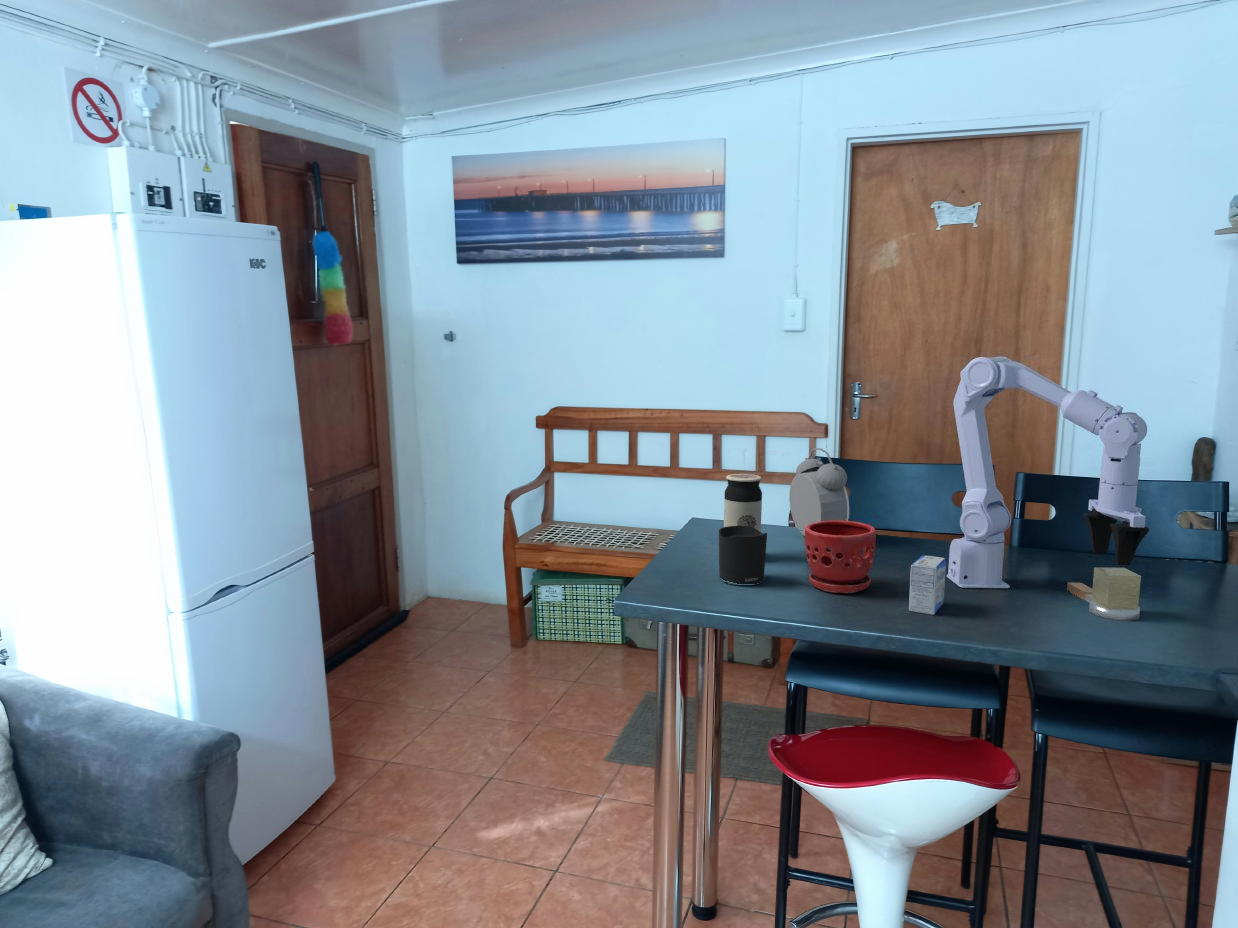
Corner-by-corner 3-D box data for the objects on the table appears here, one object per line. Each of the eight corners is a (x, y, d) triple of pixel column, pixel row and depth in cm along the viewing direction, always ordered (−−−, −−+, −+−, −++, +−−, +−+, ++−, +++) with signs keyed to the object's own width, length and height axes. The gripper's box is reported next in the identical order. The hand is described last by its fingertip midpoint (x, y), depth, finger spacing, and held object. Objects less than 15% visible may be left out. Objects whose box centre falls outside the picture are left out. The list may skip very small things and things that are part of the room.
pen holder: (713, 584, 166) (714, 534, 165) (722, 572, 175) (723, 524, 173) (762, 589, 163) (763, 538, 162) (768, 576, 172) (770, 527, 171)
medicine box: (934, 616, 148) (937, 567, 147) (907, 611, 150) (910, 563, 149) (943, 604, 155) (946, 557, 153) (918, 600, 157) (921, 554, 156)
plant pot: (818, 574, 174) (820, 516, 172) (882, 585, 166) (885, 525, 164) (791, 589, 163) (794, 528, 161) (858, 601, 156) (862, 537, 154)
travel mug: (723, 552, 190) (725, 473, 188) (759, 554, 189) (762, 474, 187) (722, 562, 183) (724, 479, 180) (760, 563, 181) (763, 480, 179)
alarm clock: (851, 546, 197) (856, 452, 193) (818, 549, 194) (822, 453, 191) (815, 531, 212) (819, 443, 209) (784, 533, 210) (787, 444, 207)
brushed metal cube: (1106, 609, 147) (1110, 575, 146) (1091, 600, 152) (1094, 567, 151) (1137, 609, 147) (1141, 575, 146) (1121, 600, 152) (1124, 567, 151)
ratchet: (1148, 621, 146) (1151, 595, 145) (1103, 620, 146) (1105, 594, 146) (1093, 590, 164) (1096, 567, 163) (1053, 589, 164) (1055, 566, 163)
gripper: (1167, 490, 141) (1158, 570, 143) (1119, 476, 156) (1111, 548, 158) (1123, 489, 141) (1115, 569, 144) (1079, 475, 156) (1073, 548, 158)
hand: (1111, 558), depth 151 cm, fingers open, 7 cm apart
